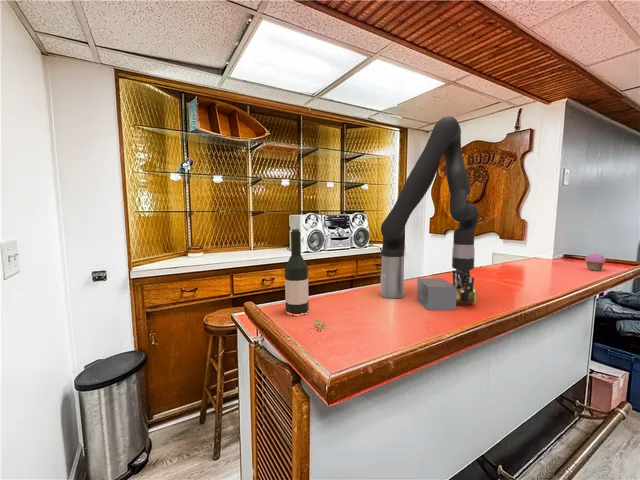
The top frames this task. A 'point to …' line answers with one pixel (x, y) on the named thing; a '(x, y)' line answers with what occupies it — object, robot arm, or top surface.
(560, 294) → the top surface
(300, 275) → the wine bottle
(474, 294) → the end cap
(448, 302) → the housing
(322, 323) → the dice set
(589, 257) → the cupcake
